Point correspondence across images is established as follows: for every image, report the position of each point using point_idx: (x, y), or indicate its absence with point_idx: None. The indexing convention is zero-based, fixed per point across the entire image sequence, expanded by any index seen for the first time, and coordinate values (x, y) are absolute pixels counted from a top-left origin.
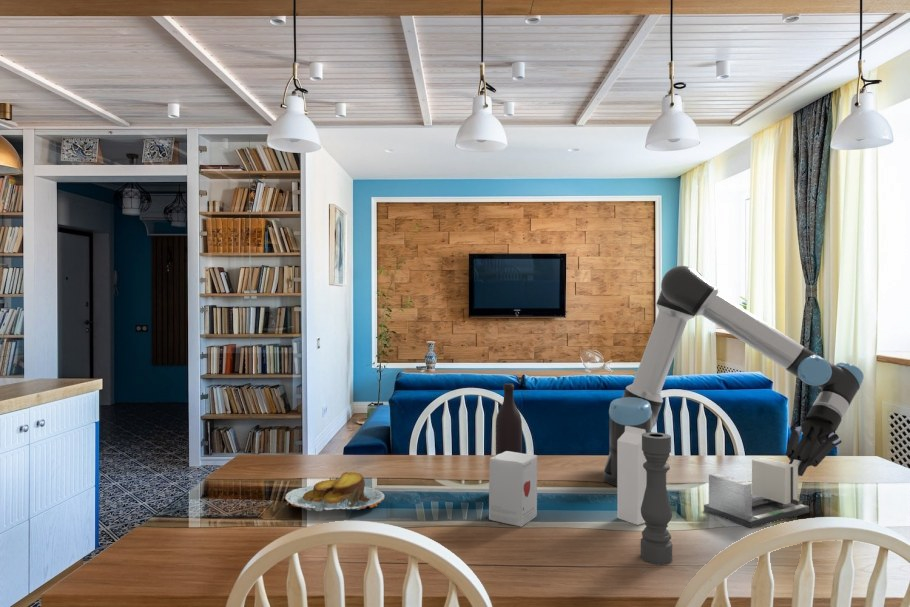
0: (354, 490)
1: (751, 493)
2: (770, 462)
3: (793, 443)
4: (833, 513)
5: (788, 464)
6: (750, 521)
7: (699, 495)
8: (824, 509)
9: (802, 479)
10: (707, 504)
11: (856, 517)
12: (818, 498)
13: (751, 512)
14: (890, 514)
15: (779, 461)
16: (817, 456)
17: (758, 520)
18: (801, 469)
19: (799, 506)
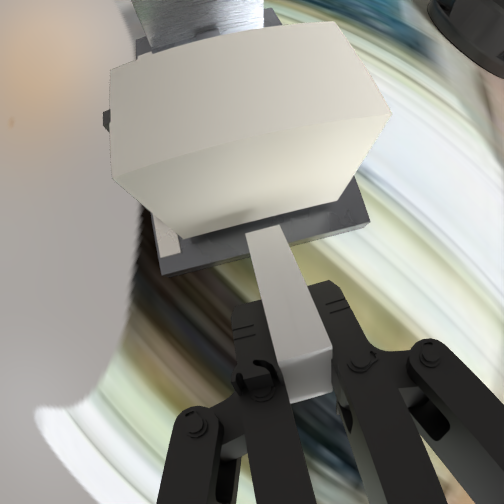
0: None
1: (132, 2)
2: (250, 59)
3: (491, 463)
4: (143, 357)
5: (162, 133)
6: (136, 40)
7: (395, 71)
8: (185, 364)
9: (461, 495)
10: (272, 13)
11: (100, 392)
12: (301, 442)
13: (148, 39)
14: (114, 497)
15: (261, 127)
16: (167, 478)
17: (136, 58)
18: (235, 331)
19: (164, 228)
